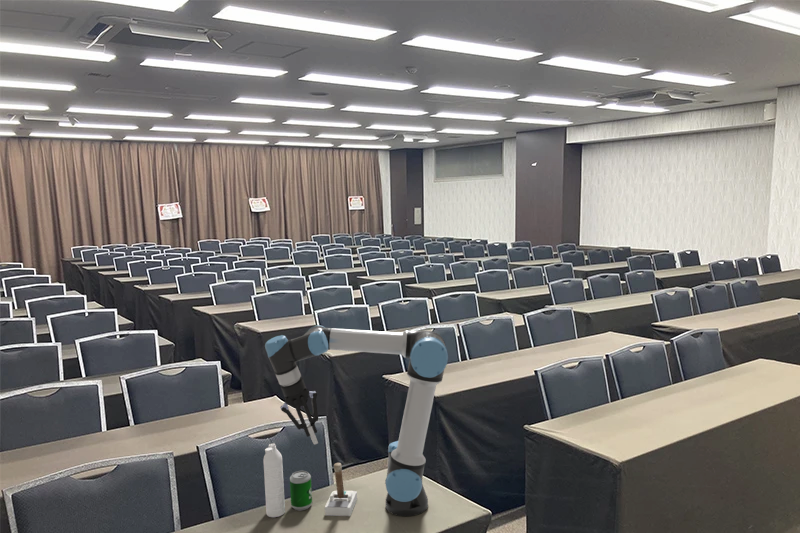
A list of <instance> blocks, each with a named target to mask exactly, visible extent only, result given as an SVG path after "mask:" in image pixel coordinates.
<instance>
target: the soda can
mask: <svg viewBox="0 0 800 533" xmlns="http://www.w3.org/2000/svg"><path fill="white" fill-rule="evenodd" d="M289 488H290V505H291V507H292V508H293V509H294V510H295V511H299V512H300V511H305V510H308V509H309V508H310V507H311V506H312V504H313V493H312V491H313V490H312V476H311V474H310V473H309V472H308V471H306V470H298V471H295V472H292V474H291V475H290V477H289Z"/></svg>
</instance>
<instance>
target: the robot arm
mask: <svg viewBox="0 0 800 533" xmlns="http://www.w3.org/2000/svg"><path fill="white" fill-rule="evenodd" d="M264 344H265V345H264V347H265V348H264V349H265V351H266V354H267V357H268V359H269V362H270V364H271V366H272V369H273V372H274V374H275V377H276V379H277V381H278V382H277V383H278V385H280V389H281V392H282V395H283V397H284V403H283V404H282V405H281V406H280V410H281V411H282V412H283V413H284V414H286V415H287V416H288V418H289V419H290V420H291V422H292V423H293V425H295V427H296V428H297V430H299V431H300V430H301V429H303V431H304V434H305V435H306V437H310V439H311V441H312V443H313V445H317V444H319V442H318V439H317V436H316V433H318V430H317V427H316V425H315V423H316V422H318V421H319V411H318V407H317V406H318V404H317V396H318V393H317V392H316V390H312V391H310V390H309V389H308V388H307V386H306V384H305V381H304V379H303V377H302V374H301V371H300V370H299V369H300V368H299V367H298V365H297V362H300V361H304V360H306V359H309V358H312V357H316V356H318V357H319V356H321V355H322V354H325V353H327V352H328V351H329V350H331V351H345V352H359V353H372V354H373V353H374V354H389V355H399V356H400V355H401V356H402V357H403V358H405V359H409V361H408V367H407V371H406V374H407V376H408V378H409V379H410V381H409V385H408V390H407V394H406V395H407V396H406V401H405V406H404V410H403V416H402V420H401V426H400V432H399V434H398V436H399V437H398V440H396V441H393V442H390V443H389V445H388V447H387V448H388V449H387V453H388V465H387V471H386V478H385V483H384V484H385V489H386V491H387V494H386V497H385V508H386V511H388V512H389V513H390V514H392V515H394V516H399V517H412V516H417V515H420V514H422V513H424V512H425V511H427V509H428V507H429V501H428V500H429V499H428V494H427V493H426V490H425V488H424V484H423V476H424V472H425V471H424V470H425V466H426V461H427V460H426V457H425V456H424V454H423V452H424V449H425V442H426V438H427V433H428V427H429V423H430V418H431V413H432V409H433V403H434V397H435V394H436V389H437V385H439V384H440V383H441V382H443V376H444V373H445V369H446V368H447V366H448V365H447V364H448V362H449V361H448V360H449V354H448V349H447V346H446V345H447V344H446V342H445V340H444V338H443V336H441V335H440V334H439V333H437V332H435V331H431V330H411V329H406V330H405V331H403V332H396V331H384V330H383V331H381V330H380V331H379V330H369V329H368V330H366V329H349V328H335V327H333V328H331V327H325V326H324V325H320V324H319V325H317V324H316V325H314V326H311V327H310V328H308V330H307V331H306V332H305V333H304V334H303V335H302V336H301V335H300V336H298V337H295V338H292V339H291V338H290V339H288V338H287V336H286V335H283V334H281V335H276V336H274V337H271V338H270V339H268V340H267V341H266V342H265V343H264ZM309 398H310V400H311V408H312V409H311V410H312V415H311V411H310V409H309V407H308V404H307V402H308V400H309ZM289 406H290V407H292V408H294V409H295V411H296V414H297V415H298V418H299V419H298V420H299V421H300V423H299V421H298V420H297V418H296V417H295V416H294V415H293V413H292V412H291V410H290V408H289ZM301 407H303V409H304V412H305V414H306V417H307V419H308V421H309V423H308V424H306V421H305V418H304V416H303V414H302V410H301Z"/></svg>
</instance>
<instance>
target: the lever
mask: <svg viewBox="0 0 800 533" xmlns="http://www.w3.org/2000/svg"><path fill="white" fill-rule="evenodd" d="M333 470H334V476H335V485H336V486H335V487H336V490H337V494H334V498H340V499H341V498H348V495H344V491H345V489H344V478H343V467H342V463H341V462H336V463H334V464H333Z"/></svg>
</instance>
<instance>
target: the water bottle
mask: <svg viewBox="0 0 800 533" xmlns="http://www.w3.org/2000/svg"><path fill="white" fill-rule="evenodd" d="M264 452H265V454H264V456H263V461H262V462H263V472H264V473H263V474H264V476H263V477H264V491H265V492H264V493H265V494H264V495H265V496H264V497H265V510H266V512H265V513H266V516H267V517H269V518H276V517H282V516H283V515H284V514H285V513H286V504H285V502H286V500H285V487H284V486H285V483H284V472H283V471H284V468H283V456H282V453H281V452H280V451H279V450H278V449H277V445H276V443H274V442H273V443H269V444H268V447H266V448H265V449H264Z"/></svg>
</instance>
